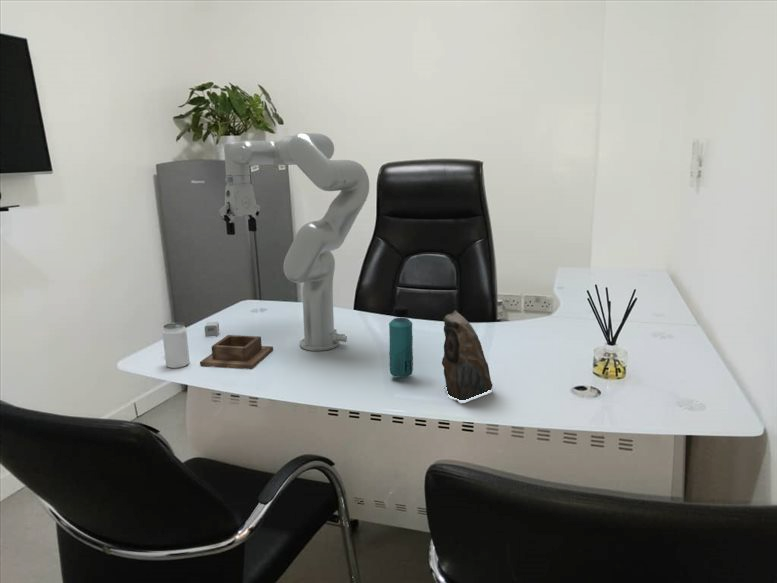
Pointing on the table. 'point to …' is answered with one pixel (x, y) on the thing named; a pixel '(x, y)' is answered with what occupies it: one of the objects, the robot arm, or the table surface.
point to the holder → (237, 352)
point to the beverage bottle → (401, 343)
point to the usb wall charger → (212, 329)
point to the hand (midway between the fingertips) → (242, 232)
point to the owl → (464, 359)
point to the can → (175, 345)
